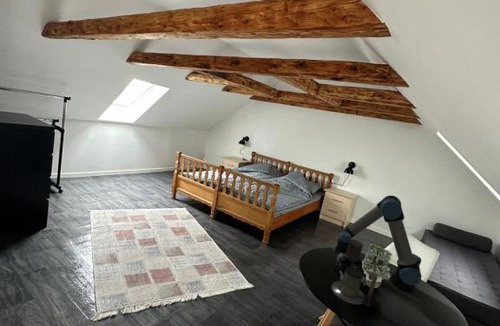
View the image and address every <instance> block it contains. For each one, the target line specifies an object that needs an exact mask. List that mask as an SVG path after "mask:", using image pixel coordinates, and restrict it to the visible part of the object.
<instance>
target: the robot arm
mask: <svg viewBox="0 0 500 326" xmlns="http://www.w3.org/2000/svg"><path fill="white" fill-rule="evenodd" d="M381 218H383V220H384V222H386V223H387V225H388V229H389V231H390V235H391V237H392V242H393V244H394V249H395V252H396V256H397V260H396V265H397V267H396V269H395V271H394V272H393V273H392V274H391V275H390V278H389V281H390V283H391V284H392V285H393V286H394V287H396V288H398V289H399V290H402V291H404V292H408V293H412V292H414V290H415V287H416V285H418V284H420V282H422V277H423V276H422V273H421V267H420V265H421V263H422V258H421V257H420V256H418V255H417V254H415V253H413V252H412V249H411V245H410V242H409V239H408V238H409V237H408V234H407V230H406V227H405V223H404V219H405V215H404V211H403V207H402V201H401V200H400V199H399V197H397V196H396V195H391V194H390V195H386V196H384V197H383V198H382V199H381V200H380V201H379V202H377V203H376V206H375V207H374V208H372V209H371V210H369V211H368V212H367V213H365V214H364V215H363V216H361V217H360V218H359V219H357V220H356V221H354V222H353V223H352V224H351V225H349V226H348V227H346V228H344V229H343V230H342V231H340V233H339V235H338V239H337V244H336V245H335V246H334V247H333V250H332V251H333V255H334V257H335V259H336V262H335V267H334V268H333V269H334V270H333V273H334V274H335V273H336V275H337V276H338V277H339V279H340V281H343V279H344V274H343V272H345V269H346V267H354V268H357V269H358V270H360V271H361V272H362V273H363V277H362V280H361V283H362V285H363V286H365V287H366V284H367V276H368V275H367V274H366V273H364V271H362V270H361V269H360V268H359V267H358V266H357V265H355V266H353V265H352V261H350V260H349V258H348V256H347V254H346V252H347V249H348V246H349V243H350V240H352V239H353V238H354V237H356V236H357V235H358V234H360V233H361V232H362V231H364V230H366V229H367V228H369V227H370V226H371V225H372V224H374V223H376V222H377V221H378V220H379V219H381Z"/></svg>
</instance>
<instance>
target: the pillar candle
mask: <svg viewBox="0 0 500 326" xmlns="http://www.w3.org/2000/svg"><path fill="white" fill-rule="evenodd" d="M363 247H364V244H363V243H362V242H361V241H360V240H357V239H353V238H352V239H351V240H350V243H349V246H348V249H347V252H346V254H347V256H348V258H349V260H350V262H351V263H352V262H353V263H357V262H359V259H360V256H361V253H362V250H363Z"/></svg>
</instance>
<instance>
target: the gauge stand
mask: <svg viewBox="0 0 500 326" xmlns="http://www.w3.org/2000/svg"><path fill="white" fill-rule="evenodd" d="M378 276H379V275H378V274H377V273H375V272H371V271H369V275H368V279H369V281H371V284H370V287H369V290H368V292H367V295H366V297H365V300H363V304H362V305H364V306H365V307H369V308H370V307H371V305H372V304H371V302H370V300H371V298H372V295H373V292H374V289H375V286H376V283H377V281H378Z"/></svg>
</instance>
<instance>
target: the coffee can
mask: <svg viewBox="0 0 500 326" xmlns="http://www.w3.org/2000/svg"><path fill="white" fill-rule="evenodd" d="M354 267H355V266H353V267H346V269H345V270H344V274H343V276H344V279H343V281H342V283H341V286H340V291H341V292H342V293H343V294H344V295H346V296H348V297H353V298H354V297H356V296H357V293H358V290H359V289H360V286H361V283H362V281H361V280H362V277H363V273H364V272H363V271H362V270H361V269H360V270H361V271H362V272H363V273H362V272H361V271H360V270H358V269H357V268H354Z"/></svg>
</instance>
